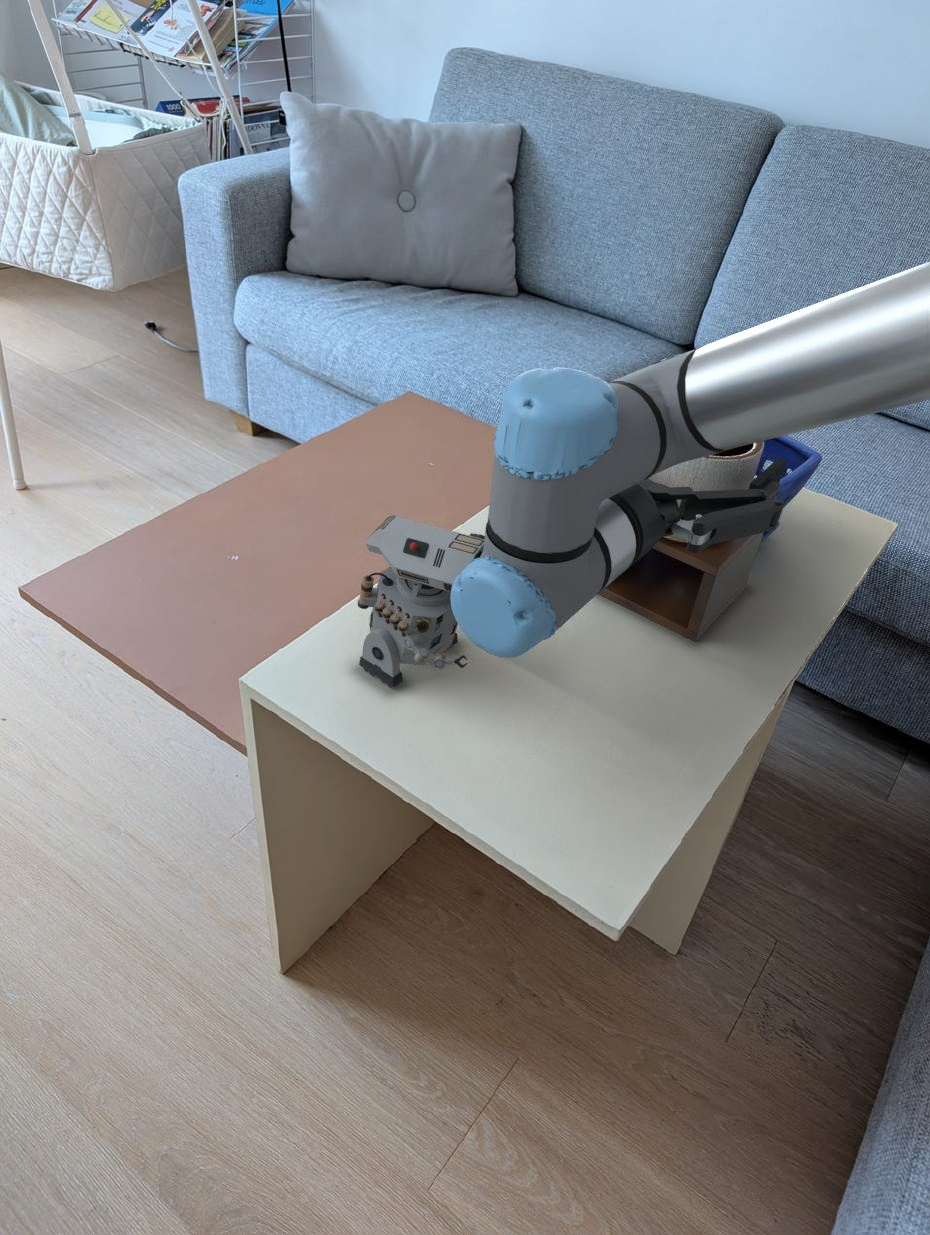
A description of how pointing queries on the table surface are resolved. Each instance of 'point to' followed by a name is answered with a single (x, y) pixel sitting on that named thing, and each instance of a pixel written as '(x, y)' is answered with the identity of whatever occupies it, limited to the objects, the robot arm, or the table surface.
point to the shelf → (685, 583)
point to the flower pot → (789, 466)
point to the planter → (713, 473)
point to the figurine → (413, 596)
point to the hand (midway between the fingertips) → (712, 446)
